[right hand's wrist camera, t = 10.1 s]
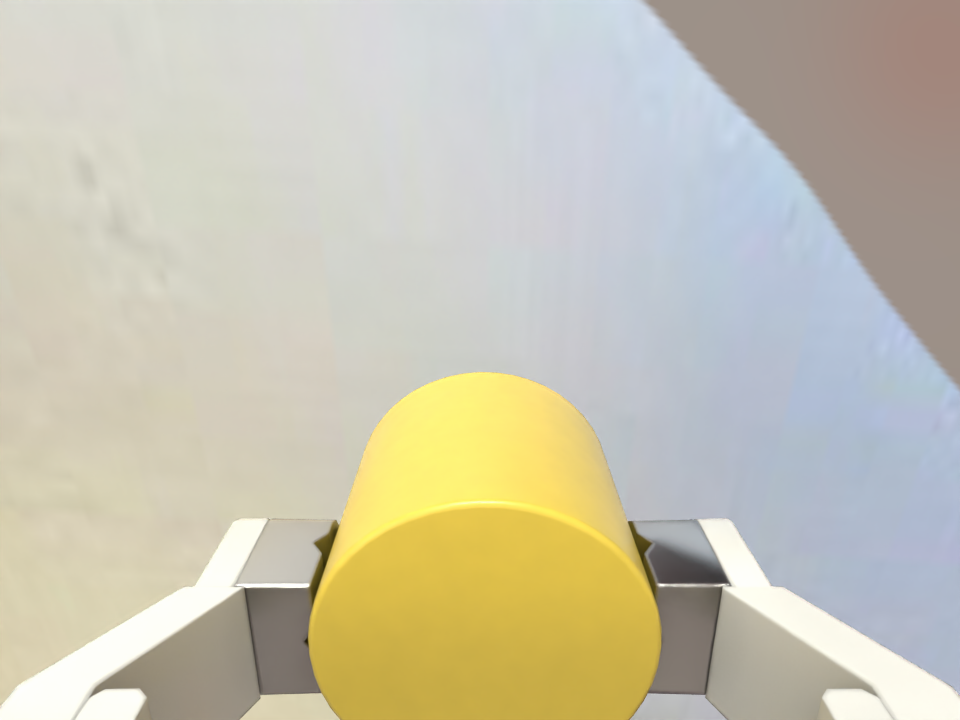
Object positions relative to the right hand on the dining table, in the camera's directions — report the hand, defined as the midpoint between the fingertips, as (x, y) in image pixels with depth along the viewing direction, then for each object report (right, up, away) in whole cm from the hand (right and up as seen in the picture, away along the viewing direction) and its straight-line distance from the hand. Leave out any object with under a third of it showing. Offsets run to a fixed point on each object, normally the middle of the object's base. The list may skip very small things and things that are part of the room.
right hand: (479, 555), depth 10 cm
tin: (0, +1, +2) cm, 2 cm away
